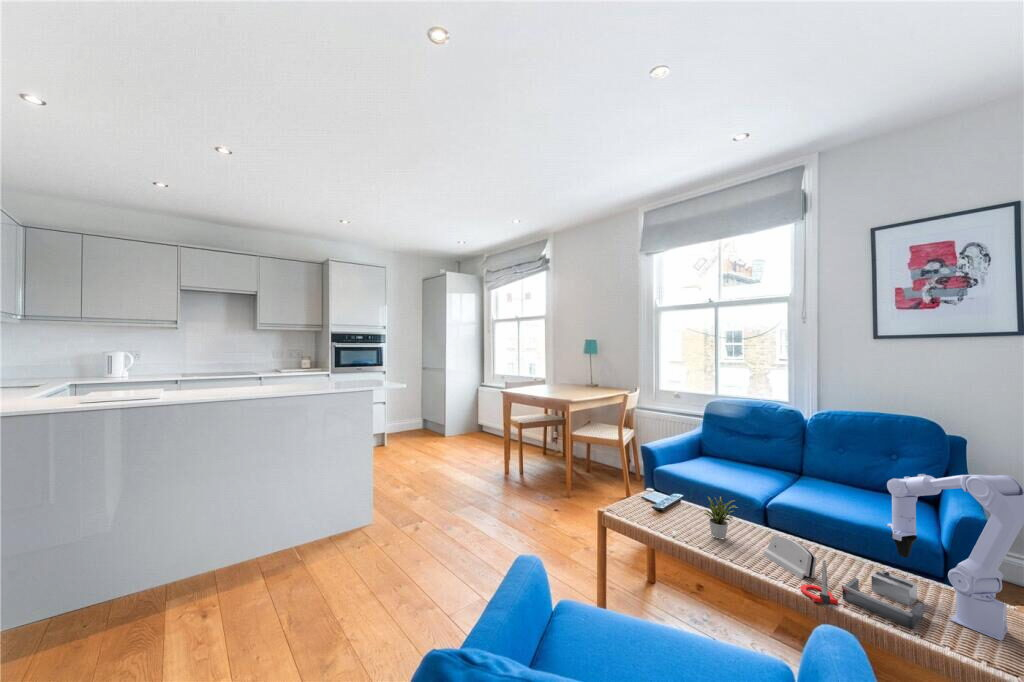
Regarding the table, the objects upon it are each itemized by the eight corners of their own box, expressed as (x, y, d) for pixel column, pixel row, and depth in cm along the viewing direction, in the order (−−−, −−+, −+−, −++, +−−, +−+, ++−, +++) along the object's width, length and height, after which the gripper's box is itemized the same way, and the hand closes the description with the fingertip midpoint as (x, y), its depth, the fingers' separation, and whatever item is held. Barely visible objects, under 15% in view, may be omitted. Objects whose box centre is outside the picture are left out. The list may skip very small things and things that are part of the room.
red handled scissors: (795, 586, 134) (811, 603, 125) (794, 546, 135) (810, 560, 125) (823, 589, 133) (841, 606, 123) (822, 549, 133) (840, 562, 124)
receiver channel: (923, 616, 119) (922, 601, 119) (911, 629, 113) (911, 614, 113) (854, 588, 132) (854, 575, 132) (841, 599, 127) (841, 585, 127)
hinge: (762, 554, 153) (769, 528, 154) (772, 557, 154) (779, 532, 155) (802, 579, 137) (810, 550, 138) (813, 583, 138) (821, 554, 139)
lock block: (917, 599, 127) (917, 581, 127) (909, 606, 123) (909, 588, 123) (880, 584, 135) (880, 567, 135) (871, 591, 131) (871, 573, 131)
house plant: (747, 538, 166) (747, 498, 166) (733, 549, 157) (733, 507, 157) (711, 526, 177) (711, 488, 177) (697, 535, 168) (697, 496, 168)
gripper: (894, 506, 142) (895, 545, 142) (880, 515, 134) (880, 556, 134) (922, 513, 136) (923, 554, 136) (909, 523, 128) (909, 566, 128)
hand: (903, 556), depth 134 cm, fingers closed
